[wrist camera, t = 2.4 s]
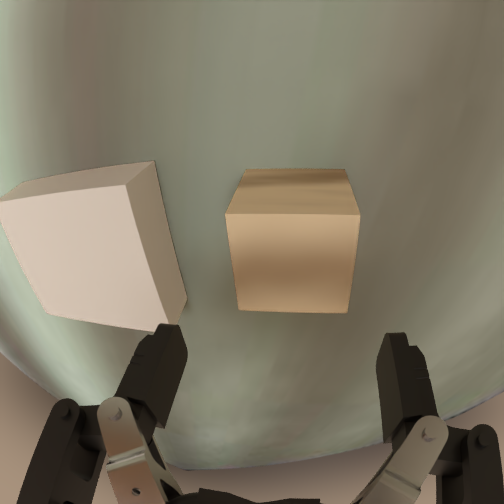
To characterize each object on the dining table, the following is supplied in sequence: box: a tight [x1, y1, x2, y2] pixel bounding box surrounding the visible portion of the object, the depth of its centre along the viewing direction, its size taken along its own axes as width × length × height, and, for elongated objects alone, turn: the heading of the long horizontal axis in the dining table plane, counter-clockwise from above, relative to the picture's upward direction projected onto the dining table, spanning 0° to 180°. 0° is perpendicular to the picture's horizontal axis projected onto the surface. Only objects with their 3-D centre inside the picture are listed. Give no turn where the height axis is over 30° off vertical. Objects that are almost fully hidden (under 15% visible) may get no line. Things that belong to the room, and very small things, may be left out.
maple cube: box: [225, 169, 360, 313], centre depth 18 cm, size 6×6×6 cm
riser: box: [0, 161, 188, 332], centre depth 22 cm, size 12×14×4 cm
